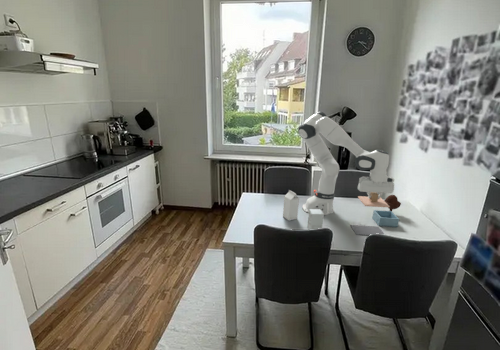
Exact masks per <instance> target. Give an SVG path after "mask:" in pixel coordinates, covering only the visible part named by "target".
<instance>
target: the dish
mask: <svg viewBox="0 0 500 350" xmlns="http://www.w3.org/2000/svg"><path fill="white" fill-rule="evenodd" d="M371 218H372V220H373V221H374V222H375V223H376V224H377V227H389V228H398V226H399V222H400V218H399V217H398V216H397V215H396V214H395V213H394V212H393V210H392V211H389V210H378V209H373V212H372V216H371Z"/></svg>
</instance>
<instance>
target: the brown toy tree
mask: <svg viewBox="0 0 500 350" xmlns="http://www.w3.org/2000/svg"><path fill="white" fill-rule="evenodd" d="M383 200H384V201H385V202H386V203H387V204H388V205H389V206H390V207H389V208H388V209H389V210H388V211H392V212H393V210H396V209H397V210H398V209H399V208H400V207H401V205H402V202H400V201H399V200H398V196H396V195H395V194H389V195H388V196H387V197H386V198H385V199H383Z"/></svg>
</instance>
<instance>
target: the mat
mask: <svg viewBox="0 0 500 350" xmlns="http://www.w3.org/2000/svg"><path fill="white" fill-rule="evenodd" d="M350 227H351V229H352V232H354V234H355V235H356V236H366V237H368V236H369V235H370V234H376V233H379V234H385V233H384V231H382V229H381V228H380V226H378V225H377V226H375V225H374V226H372V225H361V224H360V225H359V224H357V225H356V224H350Z"/></svg>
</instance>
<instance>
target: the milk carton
mask: <svg viewBox="0 0 500 350" xmlns="http://www.w3.org/2000/svg"><path fill="white" fill-rule="evenodd" d="M299 204H300V197H298V196H297V193H296V192H294V191H292V190H290V189H288V192H287V193H286V194H285V195H284V199H283V211H282V217H283V218H284V219H286V220H287V221H293V220H297V219H298V214H299V206H300V205H299Z"/></svg>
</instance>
